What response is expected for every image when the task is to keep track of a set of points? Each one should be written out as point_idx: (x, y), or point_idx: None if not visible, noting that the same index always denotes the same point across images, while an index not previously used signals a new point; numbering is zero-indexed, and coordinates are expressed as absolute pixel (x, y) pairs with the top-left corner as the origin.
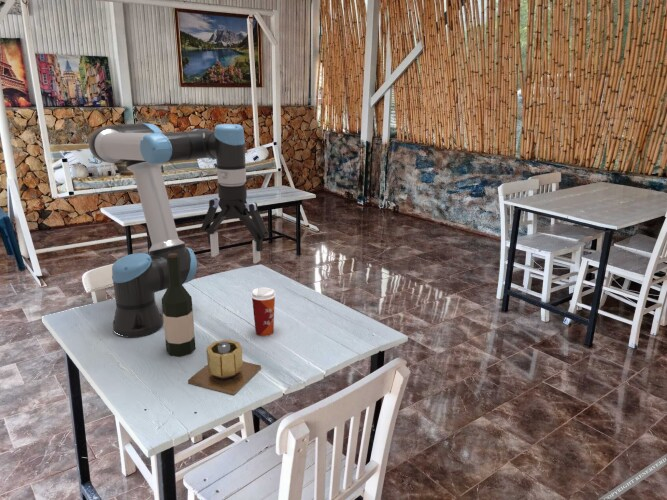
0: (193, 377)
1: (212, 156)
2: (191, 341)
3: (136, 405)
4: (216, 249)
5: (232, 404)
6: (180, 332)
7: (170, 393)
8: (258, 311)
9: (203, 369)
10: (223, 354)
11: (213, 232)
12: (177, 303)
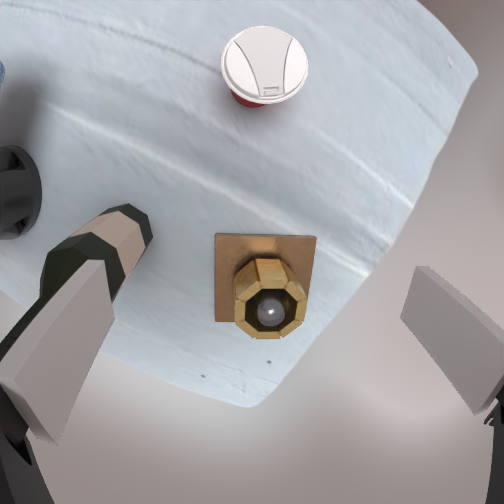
0: (218, 313)
1: None
2: (144, 239)
3: (185, 373)
4: (92, 309)
5: (309, 334)
6: (129, 274)
7: (207, 344)
8: (258, 103)
9: (219, 288)
10: (282, 330)
11: (9, 405)
12: None
